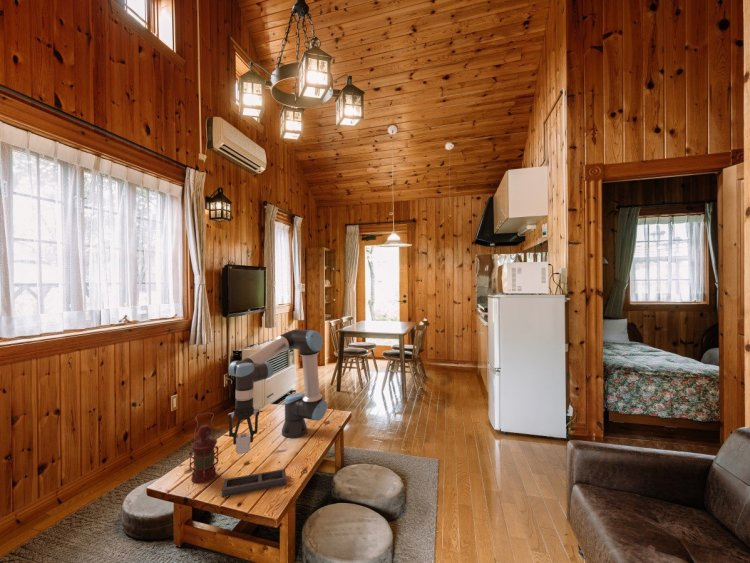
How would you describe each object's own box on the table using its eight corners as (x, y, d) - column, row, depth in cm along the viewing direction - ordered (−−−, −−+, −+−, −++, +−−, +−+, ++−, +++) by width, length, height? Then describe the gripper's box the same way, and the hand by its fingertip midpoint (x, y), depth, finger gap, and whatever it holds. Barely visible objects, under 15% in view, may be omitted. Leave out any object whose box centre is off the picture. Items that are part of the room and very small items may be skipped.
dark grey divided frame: (284, 475, 157) (285, 468, 157) (286, 485, 149) (286, 478, 149) (224, 486, 148) (224, 479, 148) (222, 497, 140) (222, 490, 141)
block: (248, 448, 152) (249, 432, 152) (248, 452, 147) (248, 435, 148) (238, 449, 150) (238, 433, 151) (237, 454, 146) (237, 437, 146)
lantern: (188, 487, 147) (189, 420, 148) (189, 473, 158) (190, 410, 159) (218, 480, 153) (219, 415, 153) (217, 467, 164) (218, 406, 164)
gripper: (264, 394, 156) (263, 444, 155) (224, 397, 151) (222, 449, 150) (264, 399, 149) (263, 451, 148) (222, 402, 143) (220, 457, 143)
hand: (243, 450), depth 149 cm, fingers closed on block, 4 cm apart
